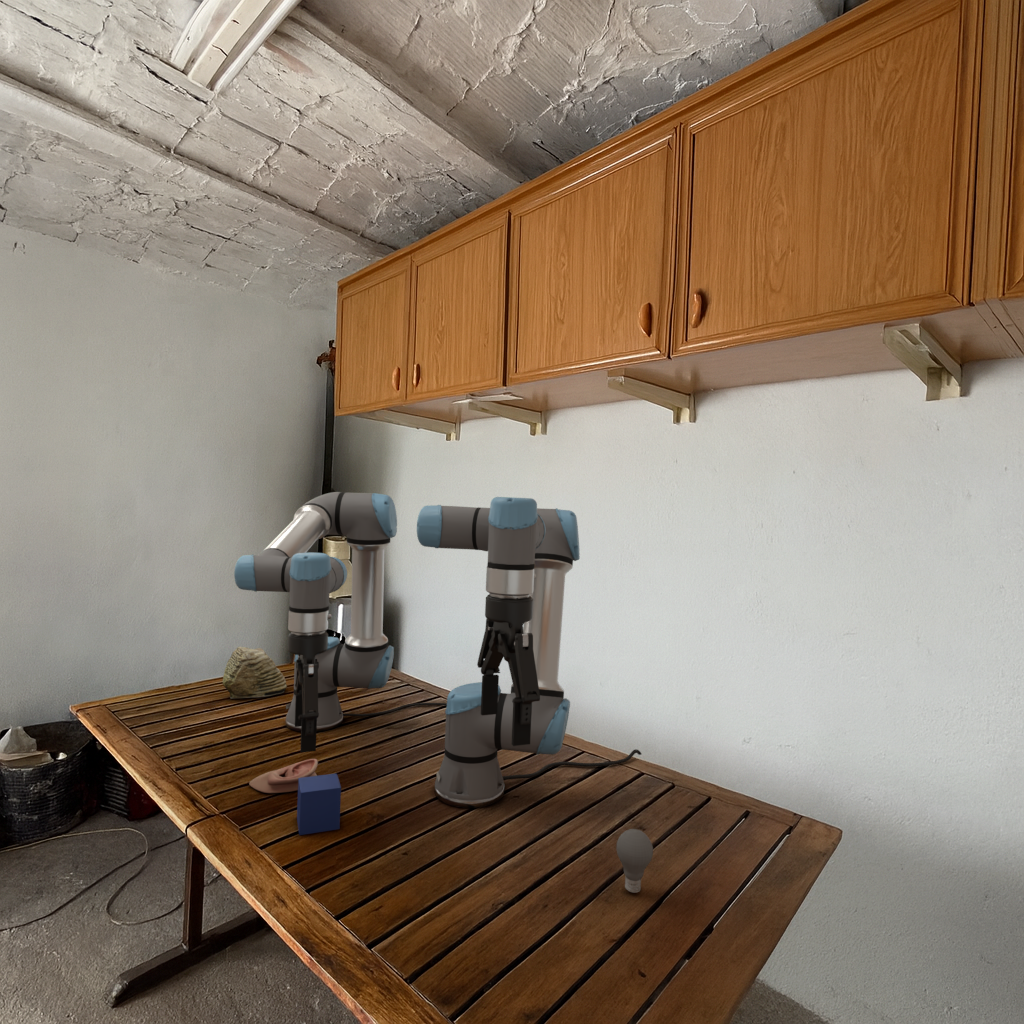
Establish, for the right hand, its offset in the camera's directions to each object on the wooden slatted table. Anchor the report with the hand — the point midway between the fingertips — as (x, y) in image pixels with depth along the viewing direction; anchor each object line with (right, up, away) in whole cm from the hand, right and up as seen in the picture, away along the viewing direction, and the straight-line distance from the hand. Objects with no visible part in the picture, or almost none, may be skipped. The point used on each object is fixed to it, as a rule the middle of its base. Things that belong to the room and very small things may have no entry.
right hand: (503, 728), depth 100 cm
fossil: (-79, -23, +98) cm, 128 cm away
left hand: (-40, -11, +25) cm, 48 cm away
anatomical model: (-49, -25, +39) cm, 68 cm away
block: (-36, -26, +23) cm, 50 cm away
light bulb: (+21, -29, +5) cm, 37 cm away
